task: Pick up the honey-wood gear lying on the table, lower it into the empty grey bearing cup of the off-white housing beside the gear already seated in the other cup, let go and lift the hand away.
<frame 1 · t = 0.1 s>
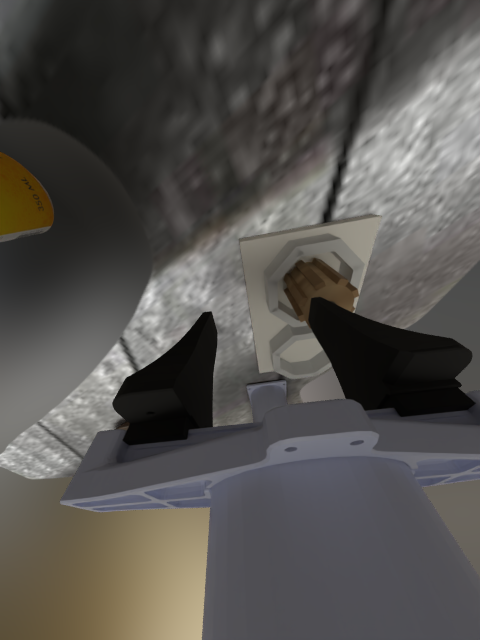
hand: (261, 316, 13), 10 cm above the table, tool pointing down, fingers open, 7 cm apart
seated gear: (305, 280, 20), resting on housing
beer can: (22, 195, 16), on the table
housing: (299, 311, 25), on the table
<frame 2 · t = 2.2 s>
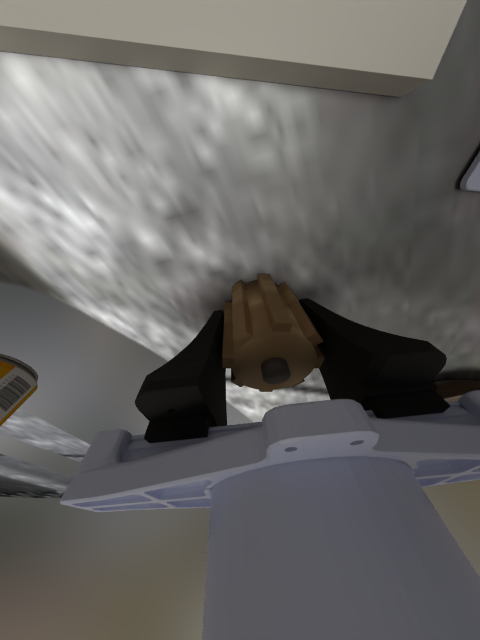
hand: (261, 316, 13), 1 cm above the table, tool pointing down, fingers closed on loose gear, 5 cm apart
loose gear: (258, 305, 14), on the table, touching gripper
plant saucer: (410, 407, 27), on the table
beer can: (8, 367, 17), on the table
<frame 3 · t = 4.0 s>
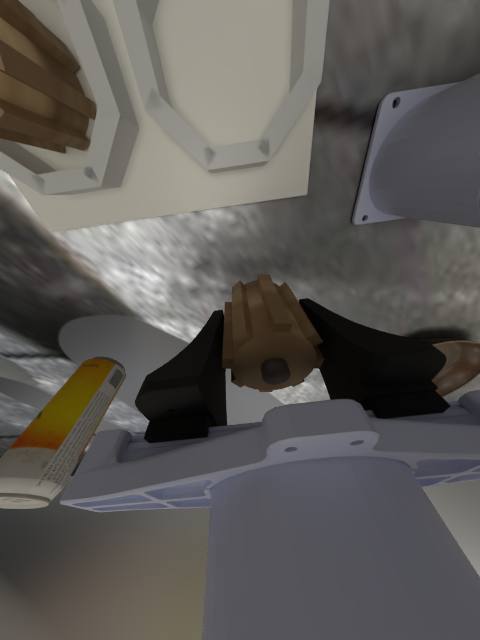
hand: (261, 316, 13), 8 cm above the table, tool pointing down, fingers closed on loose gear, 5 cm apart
seated gear: (47, 93, 10), resting on housing
loose gear: (258, 306, 14), point 7 cm above the table, touching gripper
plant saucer: (398, 368, 32), on the table
beer can: (108, 366, 28), on the table
housing: (145, 90, 12), on the table
when the fingers open (4 cm above the table, at t = 6.3 s): loose gear drops 1 cm, resting on housing.
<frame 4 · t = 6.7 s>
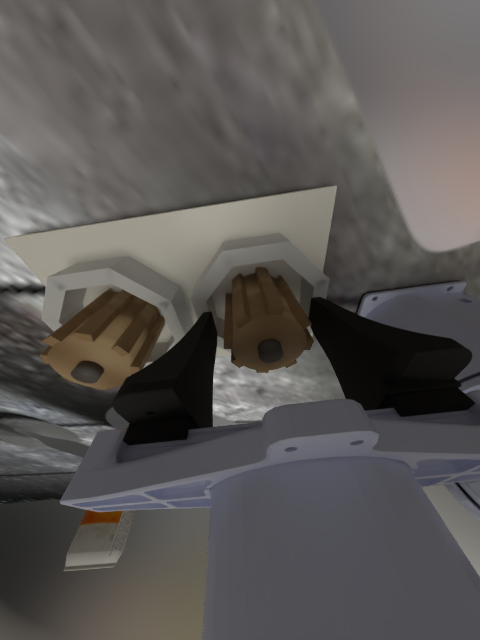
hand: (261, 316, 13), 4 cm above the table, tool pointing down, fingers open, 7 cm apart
seated gear: (134, 313, 15), resting on housing
loose gear: (256, 297, 15), point 2 cm above the table, touching housing
beer can: (142, 428, 33), on the table
housing: (197, 296, 16), on the table
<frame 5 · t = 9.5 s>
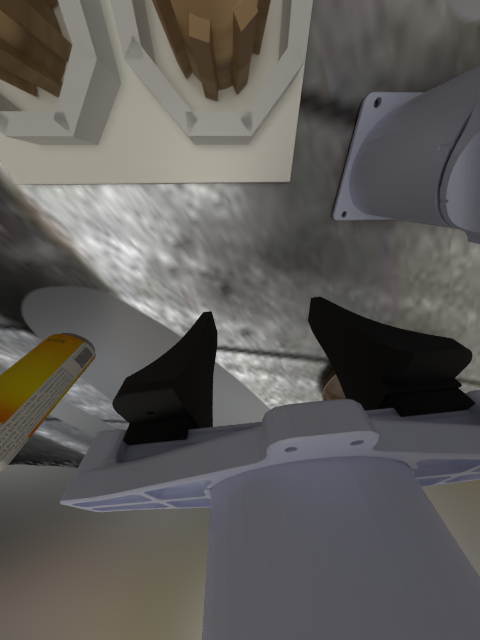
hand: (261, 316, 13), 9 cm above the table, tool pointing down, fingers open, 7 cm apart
seated gear: (19, 25, 10), resting on housing
loose gear: (215, 29, 10), point 1 cm above the table, touching housing
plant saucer: (369, 370, 34), on the table
beer can: (76, 344, 26), on the table
housing: (131, 44, 11), on the table
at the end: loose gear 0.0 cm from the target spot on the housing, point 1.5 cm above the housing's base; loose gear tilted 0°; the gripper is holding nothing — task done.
